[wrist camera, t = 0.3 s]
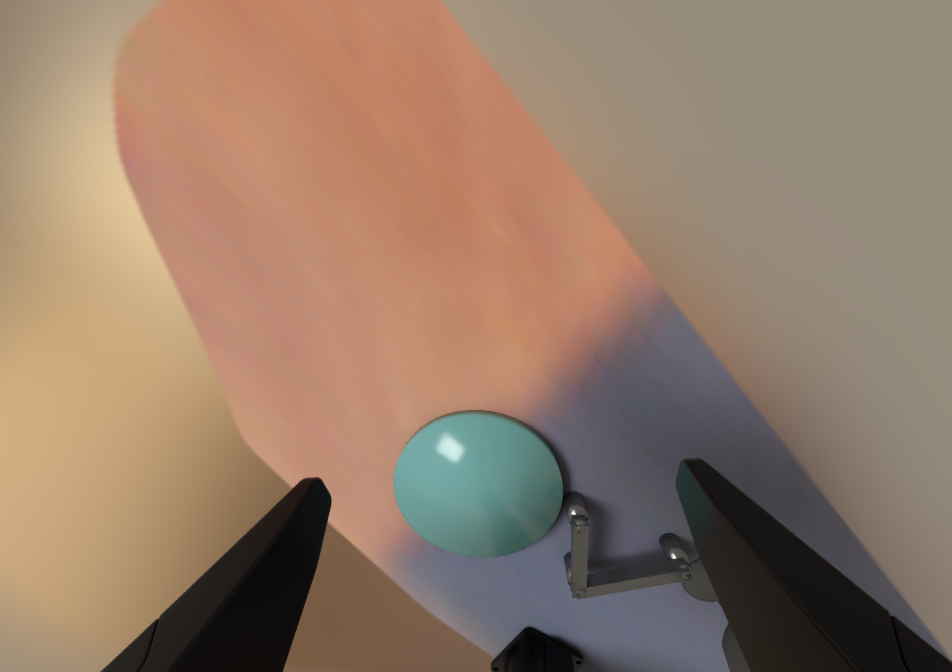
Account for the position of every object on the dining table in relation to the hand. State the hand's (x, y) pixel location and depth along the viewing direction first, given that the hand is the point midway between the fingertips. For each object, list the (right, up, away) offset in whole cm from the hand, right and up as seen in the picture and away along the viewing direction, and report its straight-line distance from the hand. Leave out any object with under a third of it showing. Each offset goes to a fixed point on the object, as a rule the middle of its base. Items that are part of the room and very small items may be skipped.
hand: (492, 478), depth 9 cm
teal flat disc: (0, -8, +19) cm, 21 cm away
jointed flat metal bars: (+10, -13, +20) cm, 26 cm away
